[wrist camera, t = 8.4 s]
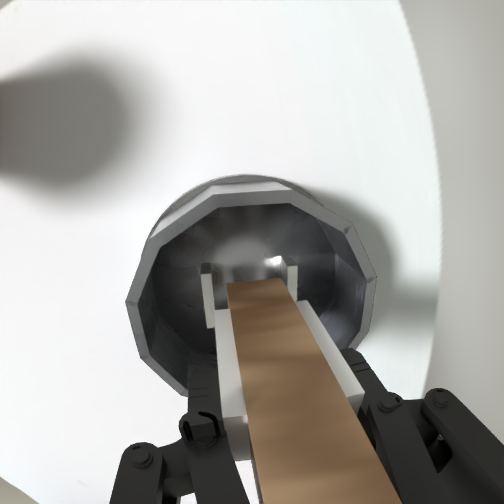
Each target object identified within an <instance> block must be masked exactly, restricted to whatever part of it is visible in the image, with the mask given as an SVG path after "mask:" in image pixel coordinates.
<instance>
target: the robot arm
mask: <svg viewBox="0 0 504 504" xmlns="http://www.w3.org/2000/svg"><path fill="white" fill-rule="evenodd" d="M295 304H296V305H297V307H298V309H299V311H300V313H301V315H302V316H303V318H304V320H305V322H306V324H307V325H308V327H309V329H310V331H311V333H312V335H313V336H314V338H315V340H316V342H317V344H318V346H319V347H320V349H321V351H322V353H323V355H324V357H325V358H326V360H327V362H328V364H329V366H330V368H331V370H332V371H333V373H334V375H335V377H336V379H337V381H338V383H339V384H340V386H341V388H342V390H343V392H344V394H345V396H346V397H347V399H348V401H349V403H350V405H351V407H352V409H353V411H354V412H355V414H356V416H357V418H358V420H359V422H360V424H361V426H362V427H363V429H364V431H365V433H366V435H367V437H368V439H369V441H370V443H371V445H372V446H373V448H374V450H375V452H376V454H377V456H378V458H379V460H380V462H381V464H382V466H383V467H384V469H385V471H386V473H387V475H388V477H389V479H390V481H391V483H392V485H393V487H394V489H395V491H396V493H397V494H398V496H399V498H400V500H401V502H402V504H504V445H503V444H502V443H501V442H500V441H499V440H498V439H497V438H496V437H495V436H494V435H493V434H492V433H491V432H490V431H489V430H488V429H487V427H486V426H485V425H484V424H482V422H481V421H480V420H479V419H478V418H476V417H475V415H474V414H473V413H472V412H470V410H469V409H468V408H467V407H466V406H465V405H464V404H463V403H462V402H461V401H460V400H459V399H458V398H457V397H456V396H455V395H453V394H452V393H451V392H450V391H448V390H445V389H443V388H435V389H431V390H430V391H428V392H427V393H426V396H425V398H424V399H415V400H403V399H402V398H401V396H399V395H397V394H396V393H392V392H388V391H387V390H386V389H385V387H384V386H383V384H382V383H381V381H380V380H379V379H378V377H377V376H376V374H375V373H374V371H373V370H372V369H371V367H370V366H369V364H368V363H366V360H365V359H364V357H363V356H362V354H361V353H359V352H358V351H356V350H355V349H353V348H352V347H351V348H347V349H342V350H338V348H337V347H336V345H335V343H334V342H333V340H332V339H331V337H330V335H329V334H328V332H327V331H326V329H325V328H324V326H323V324H322V323H321V321H320V320H319V318H318V317H317V315H316V313H315V312H314V310H313V309H312V307H311V306H310V304H309V302H308V301H307V300H304V301H296V302H295ZM214 317H215V333H216V347H217V360H218V368H213V369H200V370H194V371H193V373H192V374H191V376H190V377H189V383H188V412H187V413H186V414H185V415H183V416H182V418H181V419H180V421H179V430H180V433H181V436H182V438H181V439H180V440H178V441H177V442H175V443H172V444H169V445H166V446H162V447H159V448H157V447H156V446H155V445H153V444H150V443H146V442H141V443H135V444H133V445H130V446H129V447H128V448H127V449H125V451H124V453H123V454H122V457H121V461H120V464H119V468H118V472H117V475H116V479H115V483H114V487H113V491H112V495H111V499H110V503H109V504H180V501H181V496H184V495H188V494H191V493H194V492H195V496H196V500H197V504H250V503H249V500H248V497H247V495H246V492H245V489H244V487H243V484H242V481H241V478H240V476H239V473H238V470H237V467H236V464H235V461H243V460H251V452H250V441H249V430H248V419H247V412H246V406H245V400H244V394H243V389H242V383H241V377H240V371H239V365H238V358H237V352H236V346H235V340H234V333H233V327H232V320H231V314H230V309H222V310H214ZM439 434H440V435H441V436H442V437H441V436H440V435H439Z"/></svg>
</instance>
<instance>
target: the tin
mask: <svg viewBox="0 0 504 504" xmlns="http://www.w3.org/2000/svg"><path fill="white" fill-rule="evenodd" d="M273 278H282V280H283V282H284V284H285V286H286V287H287V289H288V291H289V293H290V295H291V296H292V298H293V300H294V302H296V301H304V300H307V301H308V302H309V304H310V306H311V307H312V309H313V310H314V312H315V313H316V315H317V317H318V318H319V320H320V321H321V323H322V324H323V326H324V328H325V329H326V331H327V332H328V334H329V335H330V337H331V339H332V340H333V342H334V343H335V345H336V347H337V348H338V350H342V349H347V348H351V347H352V348H353V349H355V350H356V348H357V347H358V345H359V344H360V343H361V341H362V340H363V338H364V337H365V335H366V334H367V333H368V331H369V326H370V320H371V314H372V307H373V301H374V294H375V286H376V278H377V276H376V274H375V272H374V270H373V267H372V265H371V263H370V261H369V258H368V256H367V254H366V252H365V250H364V248H363V245H362V243H361V241H360V239H359V237H358V235H357V233H356V231H355V229H354V227H353V224H352V223H351V222H349V221H347V220H345V219H343V218H342V217H340V216H338V215H336V214H335V213H333V212H331V211H330V210H328V209H326V208H324V206H323V205H322V204H321V203H320V202H318V201H317V200H316V199H315V198H314V197H313V196H312V195H310V194H309V193H307V192H305V191H304V190H302V189H301V188H299V187H297V186H295V185H293V184H290V183H288V182H286V181H283V180H280V179H277V178H273V177H270V176H263V175H257V174H238V175H230V176H224V177H220V178H216V179H213V180H210V181H207V182H205V183H203V184H200V185H198V186H196V187H194V188H193V189H191V190H189V191H188V192H186V193H184V194H183V195H182V196H180V197H179V198H178V199H177V200H176V201H174V202H173V203H172V204H171V205H170V206H169V207H168V208H167V209H166V210H165V212H164V213H163V214H162V215H161V217H160V218H159V219H158V221H157V222H156V224H155V225H154V227H153V228H152V230H151V232H150V234H149V236H148V238H147V240H146V243H145V246H144V249H143V252H142V255H141V261H140V263H139V266H138V269H137V271H136V274H135V277H134V279H133V282H132V285H131V288H130V290H129V293H128V296H127V299H126V301H125V303H126V307H127V311H128V315H129V319H130V323H131V327H132V331H133V334H134V338H135V341H136V345H137V348H138V352H139V355H140V358H141V359H142V360H143V361H144V362H145V363H146V364H147V365H148V366H149V367H150V368H151V369H152V370H153V371H154V372H155V373H157V374H158V375H159V376H160V377H161V378H162V379H163V380H164V381H165V382H166V383H168V384H169V385H170V386H171V387H172V388H173V389H174V390H175V391H177V392H178V393H179V394H180V395H181V396H185V397H188V383H189V377H190V376H191V374H192V373H193V371H194V370H200V369H213V368H218V360H217V347H216V333H215V317H214V310H222V309H228V299H227V287H226V283H231V282H242V281H252V280H263V279H273Z"/></svg>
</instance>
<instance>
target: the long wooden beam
mask: <svg viewBox="0 0 504 504" xmlns="http://www.w3.org/2000/svg"><path fill="white" fill-rule="evenodd" d="M226 287H227V299H228V309H230V314H231V320H232V327H233V333H234V340H235V346H236V352H237V358H238V365H239V371H240V377H241V383H242V389H243V394H244V400H245V406H246V412H247V419H248V430H249V441H250V452H251V462H252V467H253V473H254V478H255V484H256V489H257V494H258V499H259V504H402V502H401V500H400V498H399V496H398V494H397V493H396V491H395V489H394V487H393V485H392V483H391V481H390V479H389V477H388V475H387V473H386V471H385V469H384V467H383V466H382V464H381V462H380V460H379V458H378V456H377V454H376V452H375V450H374V448H373V446H372V445H371V443H370V441H369V439H368V437H367V435H366V433H365V431H364V429H363V427H362V426H361V424H360V422H359V420H358V418H357V416H356V414H355V412H354V411H353V409H352V407H351V405H350V403H349V401H348V399H347V397H346V396H345V394H344V392H343V390H342V388H341V386H340V384H339V383H338V381H337V379H336V377H335V375H334V373H333V371H332V370H331V368H330V366H329V364H328V362H327V360H326V358H325V357H324V355H323V353H322V351H321V349H320V347H319V346H318V344H317V342H316V340H315V338H314V336H313V335H312V333H311V331H310V329H309V327H308V325H307V324H306V322H305V320H304V318H303V316H302V315H301V313H300V311H299V309H298V307H297V305H296V304H295V302H294V300H293V298H292V296H291V295H290V293H289V291H288V289H287V287H286V286H285V284H284V282H283V280H282V278H273V279H263V280H252V281H242V282H231V283H226Z"/></svg>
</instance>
